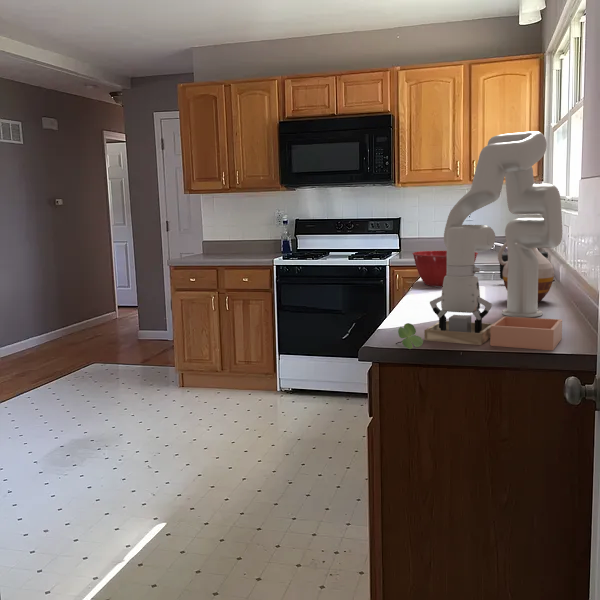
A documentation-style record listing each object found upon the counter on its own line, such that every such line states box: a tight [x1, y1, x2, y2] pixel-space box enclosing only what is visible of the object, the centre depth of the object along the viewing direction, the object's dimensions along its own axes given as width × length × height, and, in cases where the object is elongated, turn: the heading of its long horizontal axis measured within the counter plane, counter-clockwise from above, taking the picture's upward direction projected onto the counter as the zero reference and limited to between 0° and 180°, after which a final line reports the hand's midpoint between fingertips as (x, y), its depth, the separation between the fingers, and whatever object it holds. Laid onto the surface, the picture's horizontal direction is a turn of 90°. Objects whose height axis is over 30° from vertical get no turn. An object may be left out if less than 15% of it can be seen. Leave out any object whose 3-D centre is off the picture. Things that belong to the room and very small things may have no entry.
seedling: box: [395, 323, 424, 350], centre depth 175 cm, size 7×8×7 cm
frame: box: [424, 320, 494, 346], centre depth 184 cm, size 16×16×3 cm
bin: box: [489, 315, 563, 351], centre depth 175 cm, size 16×16×5 cm
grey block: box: [448, 314, 472, 333], centre depth 184 cm, size 5×5×6 cm
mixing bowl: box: [411, 250, 478, 287], centre depth 291 cm, size 28×28×15 cm
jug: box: [497, 242, 555, 303], centre depth 239 cm, size 20×18×30 cm
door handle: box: [499, 251, 549, 280], centre depth 284 cm, size 3×20×16 cm, turn 76°
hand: (460, 332), depth 184 cm, fingers open, 9 cm apart
